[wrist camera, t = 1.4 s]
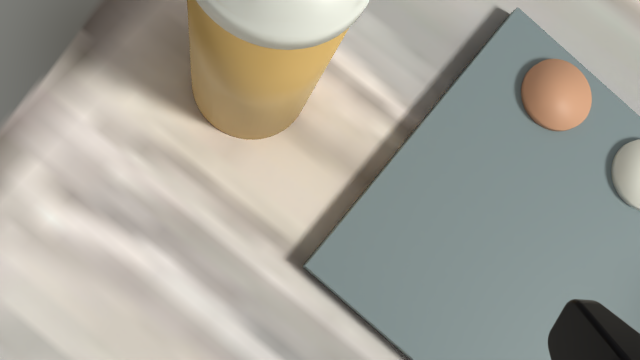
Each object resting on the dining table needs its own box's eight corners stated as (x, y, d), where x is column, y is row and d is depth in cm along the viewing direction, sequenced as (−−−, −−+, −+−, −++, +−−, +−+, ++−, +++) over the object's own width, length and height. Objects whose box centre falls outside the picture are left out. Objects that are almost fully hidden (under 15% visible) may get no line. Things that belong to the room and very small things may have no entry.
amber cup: (256, 166, 22) (298, 78, 13) (162, 85, 22) (132, -68, 12) (333, 81, 23) (424, -60, 14) (244, 3, 23) (274, -195, 14)
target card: (543, 473, 22) (557, 481, 22) (302, 266, 22) (306, 265, 21) (715, 197, 26) (733, 194, 25) (510, 13, 26) (521, 4, 25)
